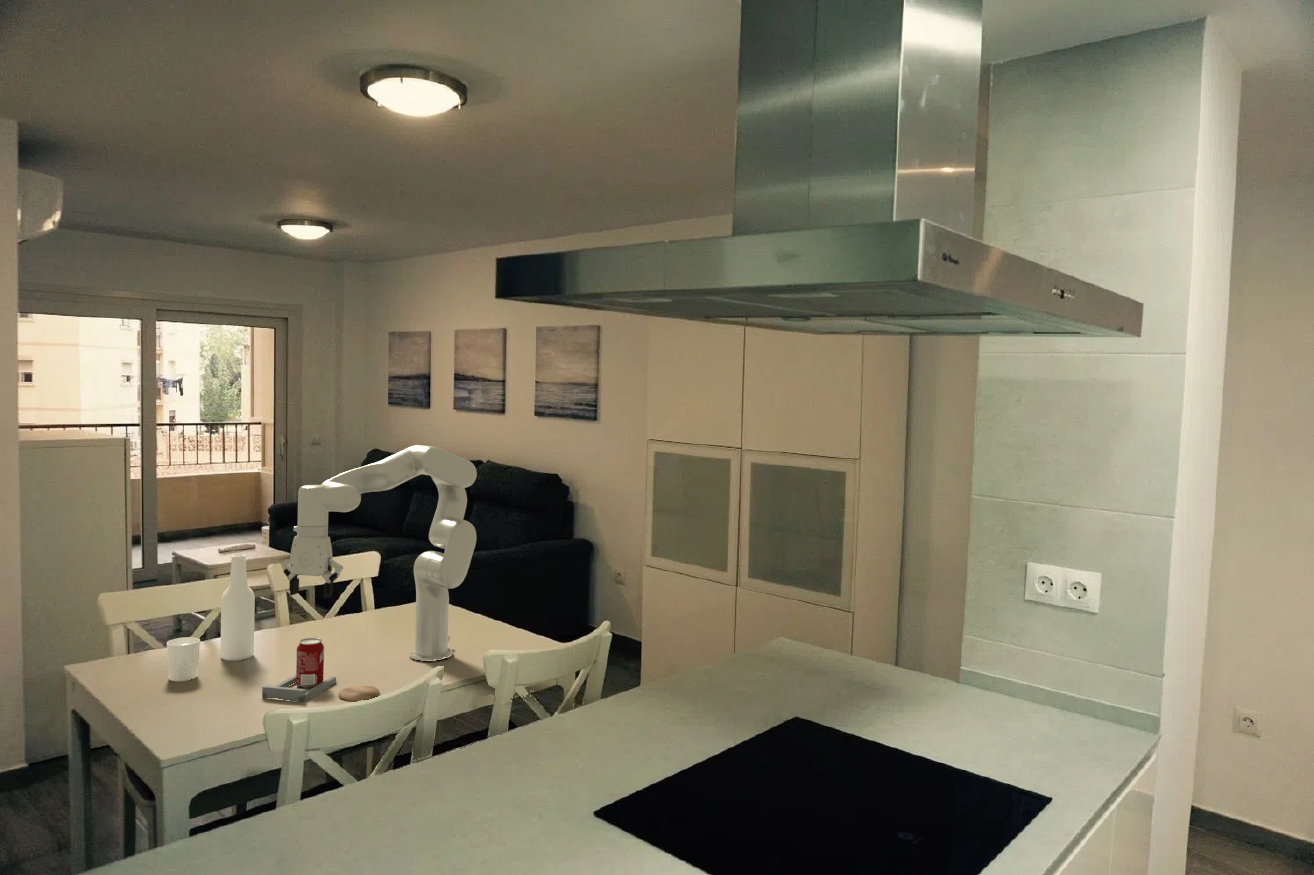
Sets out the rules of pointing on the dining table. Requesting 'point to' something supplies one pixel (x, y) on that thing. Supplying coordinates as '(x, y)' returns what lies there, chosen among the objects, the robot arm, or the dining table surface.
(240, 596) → the alcohol
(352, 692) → the coaster
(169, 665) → the white cup
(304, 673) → the soda can
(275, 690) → the u-shaped frame
